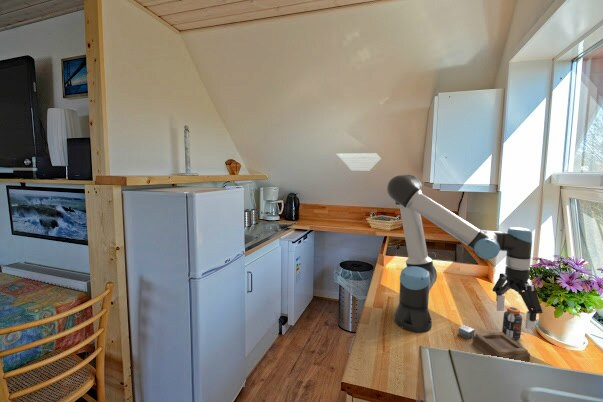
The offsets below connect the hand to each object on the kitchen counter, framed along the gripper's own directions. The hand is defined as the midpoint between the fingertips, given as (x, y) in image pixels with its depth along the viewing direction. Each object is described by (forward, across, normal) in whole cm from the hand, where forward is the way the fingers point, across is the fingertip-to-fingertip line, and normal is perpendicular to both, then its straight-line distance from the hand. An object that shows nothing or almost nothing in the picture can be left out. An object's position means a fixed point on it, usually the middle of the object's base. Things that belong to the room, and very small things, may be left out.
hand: (513, 318), depth 111 cm
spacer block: (+7, +2, +18) cm, 20 cm away
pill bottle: (+7, 0, 0) cm, 7 cm away
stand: (+7, -9, +13) cm, 17 cm away
